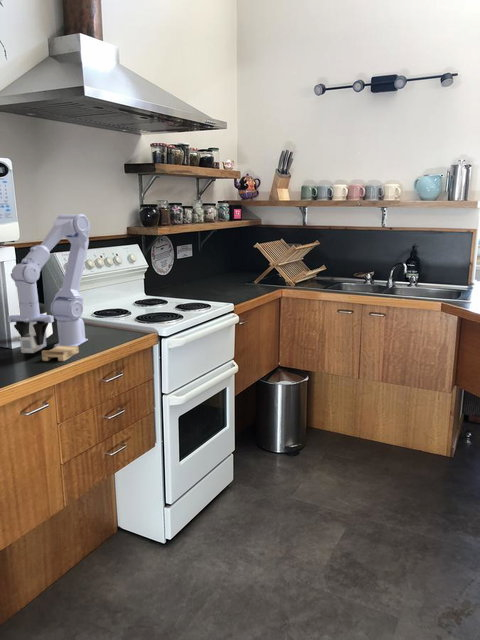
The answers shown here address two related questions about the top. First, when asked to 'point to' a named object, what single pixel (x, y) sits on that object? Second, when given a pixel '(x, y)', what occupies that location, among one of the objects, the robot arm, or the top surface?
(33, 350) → the housing
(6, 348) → the top surface
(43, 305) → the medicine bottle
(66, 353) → the stand
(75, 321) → the robot arm
